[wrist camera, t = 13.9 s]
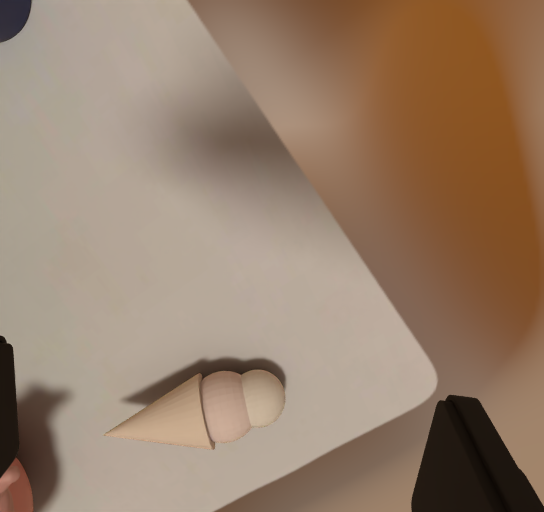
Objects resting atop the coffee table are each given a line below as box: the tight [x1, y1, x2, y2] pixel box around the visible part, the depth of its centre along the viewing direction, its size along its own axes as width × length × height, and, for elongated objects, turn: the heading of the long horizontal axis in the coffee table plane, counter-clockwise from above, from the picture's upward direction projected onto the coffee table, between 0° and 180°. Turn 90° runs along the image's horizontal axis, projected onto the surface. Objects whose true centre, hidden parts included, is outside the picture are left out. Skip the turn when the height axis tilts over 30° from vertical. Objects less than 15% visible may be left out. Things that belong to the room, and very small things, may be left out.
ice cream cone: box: [104, 370, 285, 450], centre depth 40 cm, size 6×6×15 cm
